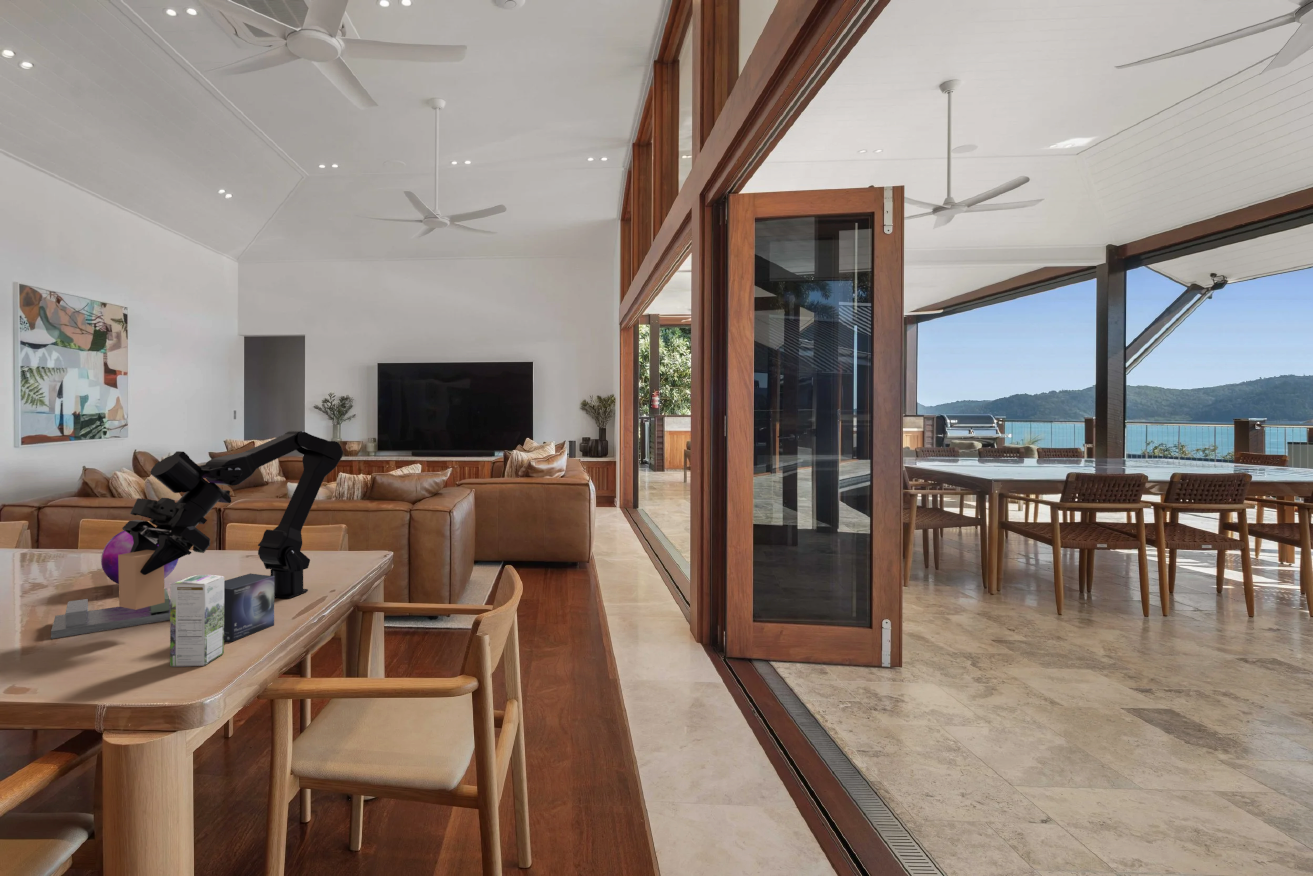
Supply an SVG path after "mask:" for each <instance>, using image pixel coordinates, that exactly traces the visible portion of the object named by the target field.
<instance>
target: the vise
mask: <svg viewBox="0 0 1313 876" xmlns="http://www.w3.org/2000/svg"><path fill="white" fill-rule="evenodd" d="M169 605H170V598H169ZM166 621H170V610H168V611H161V612H155V613H151V609H150V606H149V607H145V608H141V609H137V610H135V609H129V608H124V607H119V606H113V607H108V608H100V609H99V608H98V609H93V610H89V599H88V598H86V599H78V600H70V601H67V605H66V609H65V613H64V614H59V615H58V614H57V615H54V620H53V623H52V627H51V630H50V639H51V640H52V639H58V638H59V639H60V638H66V637H67V638H68V637H70V636H71V637H72V636H79V635H85V634H90V633H97V632H102V631H110V630H116V629H122V628H127V627H129V628H130V627H134V626H141V625H147V624H152V623H159V622H166Z"/></svg>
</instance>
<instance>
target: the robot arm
mask: <svg viewBox="0 0 1313 876" xmlns="http://www.w3.org/2000/svg"><path fill="white" fill-rule="evenodd" d="M294 451H295V452H296V453H298V454H300V455H302V467H303V471H302V474H301V476H300V478H299V480H298V483H297V484H296V487H295V489H294V491H293V493H292V495H291V498H290V500H289V502H288V504H287V507H286V508H285V511H284V514H283V515H282V518H281V520H280V522H279V524H278V525H277V526H276V527H274V528H273V529H266V530H265V531H264V533H263V535H262V539H261V540H260V542H259V543H258V544H257V546H258V549H257V550H258V551H257V555H258V556H259V559H260V560H261V562H262V563H263V566H264V567H265V570H270V574H269V576H274V598H279V599H280V598H281V599H292V598H294V597H297V596H298V595H301V594H302V595H303V594H304V593H306V592H308V591H309V589H308V588H304V570H307V569H309V565H310V561H311V559H310V558H309V557H307V556H306V555H305V553H303V552H302V551H301V549H302V547H303V535H302V530H303V527H304V525H305V522H306V520H307V518H308V517H309V514H310V511H311V509H312V507H313V504H314V503H315V500H316V498H317V496H318V493H319V491H320V488H321V486H322V485H323V482H324V480H325V477H327V476H328V475H329V474H330V473H331V472H332V471H333V470H335V468H337V466H338V464H339V463H340V461H341V460H342V458H343V454H344V451H343V448H342V446H341V445H340V443H339V442H338V441H335V440H327V439H324V438H322V437H318V436H315V435H312V434H310V433H308V432H306V431H305V430H304V431H303V430H289V431H286V432H285V433H284V434H283V435H279V436H278V437H276V438H273V439H271V440H268V441H266V442H264V443H262V444H260V445H257V446H254V447H253V448H250V449H248V450H245V451H243V452H239V453H234V454H227V455H226V454H225V455H223V456H219V457H215V458H214V457H213V458H210V459H209V460H207V462H206V463H205V464H203V465H202V464H201V465H198V464H197V463H196V462H195V461H194V460H192V458H190V456H189V455H188V454H187V453H186V452H185V451H175V452H174V453H173V454H172V455H168V456H167V457H165V458H163V459H162V460H160V461H158V462H156V463H155V464H154V465H153V467H152V468H151V470H150V475H151V476H152V477H153V478H155V479H156V480H158V482H160V484H162V485H164V486H165V487H166V488H167V489H168V490H170V491H171V492H172V493H174V494H180V493H184V494H183V495H182V496H180V497H179V499H178V500H177V501H175V499H172V498H169V497H161V498H159V500H154V499H149V498H136V501H135V503H134V504H133V506H132V509H131V511H130V513H129V514H130V515H133V516H141V517H143V518H144V517H145V518H147V519H150V520H149V521H148V520H144V519H143V520H142V519H131V520H129V521H127V523H125V524H124V526H122V527H121V528H122V529H121V530H122V531H126V532H127V533H128V534H130V535H131V536H132V537H133V542H134V543H133V546H132V549H131V551H130V553H132V552H137V551H143V550H153V551H155V552H154V553H153V554H152V556H151V557H150V558H149V559H148V561H147V562H146V563H145V565H144V566H143V568H142V569H141V571H140V573H142V574H143V575H147V574H149V573H150V572H152V571H154V570H156V569H158V568H160V567H162V566H164V565H166V564H168V563H170V562H172V561H174V560H177V559H178V560H179V559H181V558H182V557H185V556H188V555H189V556H190V555H191V554H192V551H193V552H195V553H202V554H205V552H206V551H207V550H208V548H209V547H211V538H210V537H208V535H206V534H205V533H203V532H202V531H201V530H200V529H198V528H197V526H198V525H204V524H206V523H207V521H208V519H206V518H205V517H206V516H207V515H208V513H210V511H211V510H212V509H213V508H214V507H215V506H216V504H218V503H220V504H221V503H223V504H224V503H225V504H231V503H232V496H231V494H230V493H231V491H230V490H229V489H222V488H221V487H220V486H221V485H223V486H237V485H241V484H242V483H243V482H245V481H246V480H247V479H249V478H250V477H252V476H253V475H254V474H255V472H256V470H257V469H259V468H261V467H262V466H264V465H267V464H269V463H272V462H273V461H275V460H278V459H280V458H282V457H284V456H286V455H288V454H290V453H292V452H294ZM218 485H220V486H218ZM157 545H159V546H157ZM191 549H192V551H191Z"/></svg>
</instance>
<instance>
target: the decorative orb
mask: <svg viewBox="0 0 1313 876" xmlns="http://www.w3.org/2000/svg"><path fill="white" fill-rule="evenodd" d="M133 543H134V542H133V537H132V536H131V535H130V534H128V533H127V532H126V531H124V530H122V531H120V532H118V533H117V534H115V535H114V536H112V538H111V539H110V540H108V541H107V543H106V545H105V546H104V547H103V549H102V553H101V556H100V557H101V558H100V559H101V560H100V563H101V567H102V571H103V573H104V574H105V575H106V576H107V578H108V579H109V580H111V581H112V582H114V583H115V584H118V585H119V567H118V555H120V554H126V553H130V551H131V549H132V546H133ZM157 546H159V545H157ZM178 561H179V559H177V560H174V561H172V562H170V563H168V564H166V565H164V579H166V578H168V576H169V575H171V573H172V572H173V571H174V570H175V568H176V566H177V565H178Z"/></svg>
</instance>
